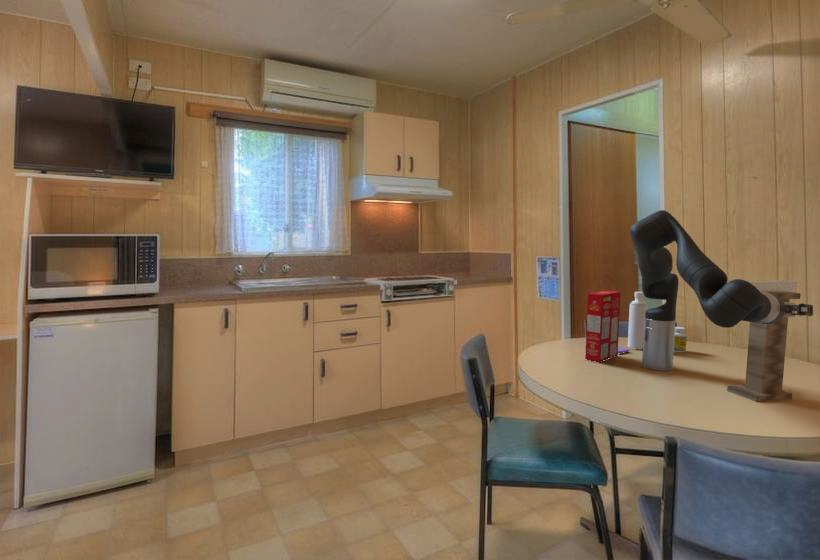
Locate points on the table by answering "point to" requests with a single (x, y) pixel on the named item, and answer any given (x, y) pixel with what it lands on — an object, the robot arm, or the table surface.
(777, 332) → the walnut stand
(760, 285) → the beige long bar
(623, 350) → the sponges
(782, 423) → the table surface
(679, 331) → the supplement bottle
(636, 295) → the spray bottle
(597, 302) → the food packaging
